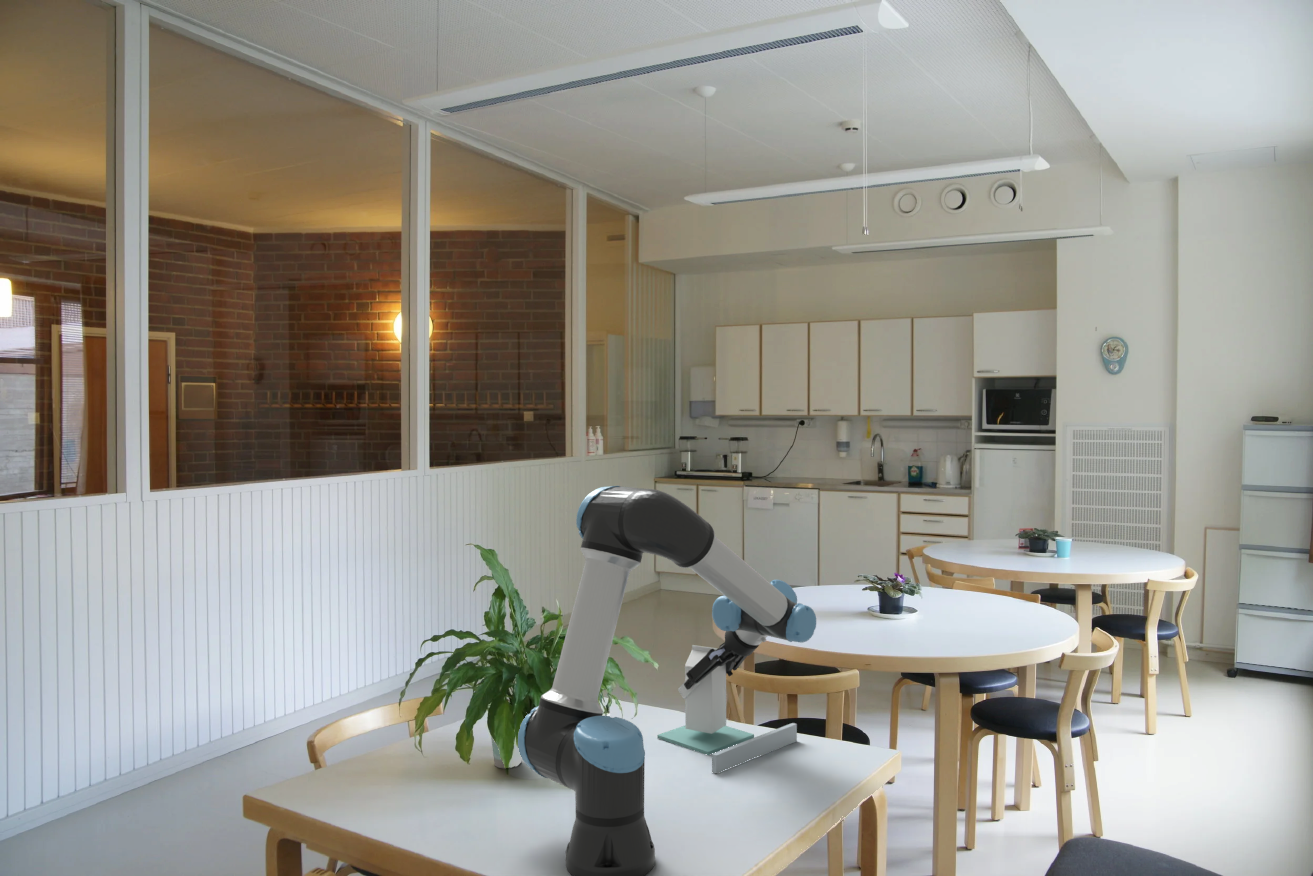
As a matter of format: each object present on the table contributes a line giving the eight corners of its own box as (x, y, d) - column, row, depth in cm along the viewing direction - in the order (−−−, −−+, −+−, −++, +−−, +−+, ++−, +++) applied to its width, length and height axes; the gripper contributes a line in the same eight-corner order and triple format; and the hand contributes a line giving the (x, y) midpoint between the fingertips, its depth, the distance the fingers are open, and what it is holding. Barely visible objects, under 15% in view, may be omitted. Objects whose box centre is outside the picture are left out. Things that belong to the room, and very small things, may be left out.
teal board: (708, 755, 211) (708, 751, 211) (657, 738, 222) (657, 735, 222) (754, 737, 222) (754, 734, 222) (703, 722, 234) (703, 719, 234)
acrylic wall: (716, 774, 200) (716, 755, 200) (711, 772, 201) (711, 754, 201) (796, 741, 220) (796, 724, 220) (792, 740, 221) (792, 723, 220)
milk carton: (712, 734, 217) (711, 652, 217) (685, 729, 221) (684, 648, 221) (726, 726, 223) (726, 645, 223) (700, 721, 227) (699, 642, 227)
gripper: (724, 655, 203) (671, 713, 215) (785, 638, 218) (733, 693, 230) (706, 627, 207) (655, 685, 219) (767, 612, 222) (716, 668, 234)
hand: (695, 689), depth 224 cm, fingers closed on milk carton, 8 cm apart
